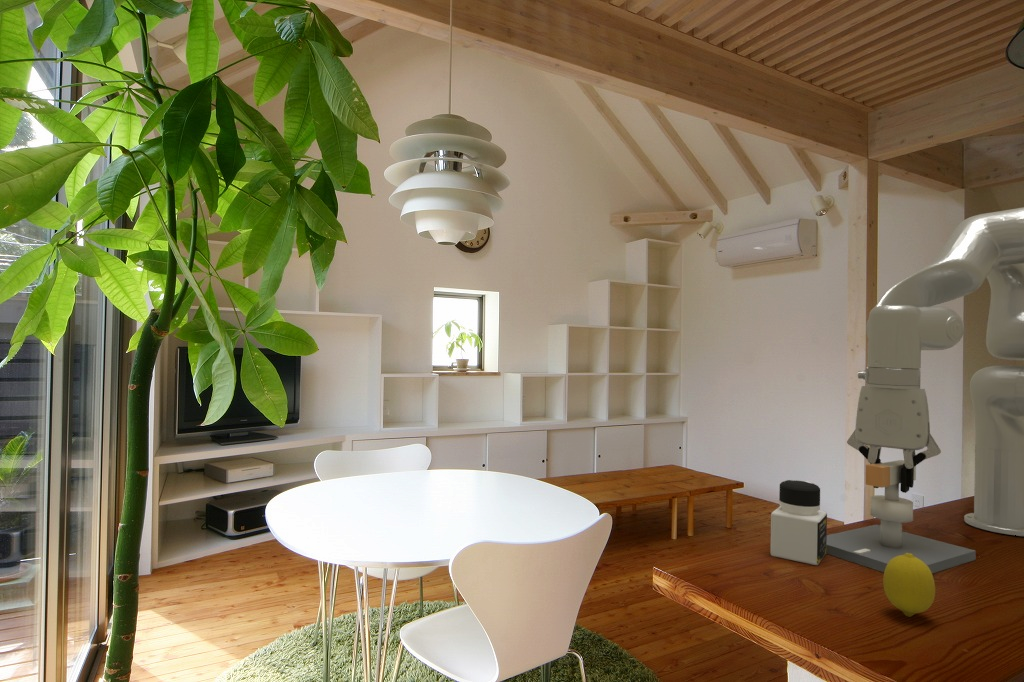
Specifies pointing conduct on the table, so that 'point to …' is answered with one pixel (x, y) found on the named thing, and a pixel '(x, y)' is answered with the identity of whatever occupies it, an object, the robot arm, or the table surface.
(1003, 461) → the robot arm
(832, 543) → the coupling base
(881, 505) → the grey and orange blocks
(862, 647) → the table surface
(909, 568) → the lemon
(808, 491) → the medicine bottle
